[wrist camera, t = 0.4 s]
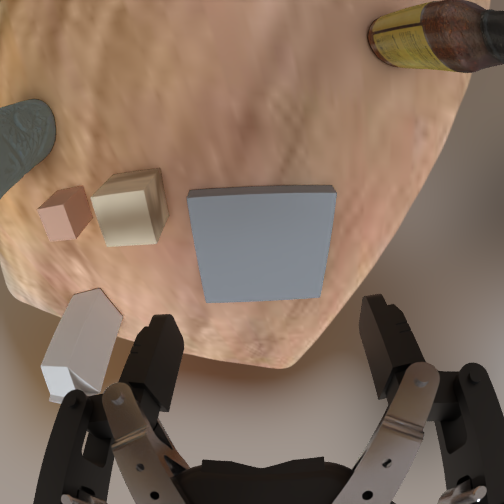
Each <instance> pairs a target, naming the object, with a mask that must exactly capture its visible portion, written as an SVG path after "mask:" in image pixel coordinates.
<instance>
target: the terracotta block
mask: <svg viewBox="0 0 504 504" xmlns="http://www.w3.org/2000/svg"><path fill="white" fill-rule="evenodd" d="M37 211H38V214H39V216H40V219H41V221H42V224H43V226H44V229H45V231H46V233H47V236H48V238H49V240H50V241H60V240H71V239H77V237H78V236H79V235H80V233H81V232H82V231H83V229H84V228H85V227H86V225H87V224H88V223H89V222H90V220H91V219H92V218H93V216H92V213H91V210H90V207H89V204H88V200H87V197H86V194H85V190H84V187H83V186H78V187H73V188H68V189H63V190H58V191H56V192H55V193H54V194H53V195H52V196H51V197H50V198H49V199H47V200H46V201H45V202H44V203H43V204H42V205H41V206H40V207H39V208H38V209H37Z"/></svg>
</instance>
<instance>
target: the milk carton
mask: <svg viewBox="0 0 504 504" xmlns="http://www.w3.org/2000/svg"><path fill="white" fill-rule="evenodd" d="M122 319H123V316H122V315H121V314H120V313H119V311H118V310H117V309H116V308H115V307H114V305H113V304H112V303H111V302H110V301H109V299H108V298H107V297H106V296H105V294H104V293H103V292H102V290H101V289H95V290H91V291H87V292H83V293H79V294H75V295H73V296H72V298H71V300H70V302H69V304H68V306H67V308H66V310H65V312H64V314H63V316H62V318H61V320H60V323H59V325H58V327H57V329H56V331H55V333H54V336H53V338H52V340H51V343H50V345H49V347H48V350H47V352H46V354H45V357H44V359H43V362H42V364H41V369H42V372H43V375H44V377H45V380H46V383H47V386H48V389H49V391H50V394H51V395H50V399H49V401H51V402H56V403H62V401H63V398H64V397H65V395H66V394H67V393H68V392H70V391H72V390H75V389H78V390H81V391H83V392H84V393H85V394H86V395H87V396H92V395H95V394H98V393H100V392H101V388H102V384H103V380H104V376H105V373H106V369H107V366H108V363H109V359H110V356H111V353H112V349H113V346H114V343H115V340H116V337H117V333H118V330H119V327H120V324H121V322H122Z"/></svg>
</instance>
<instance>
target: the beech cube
mask: <svg viewBox="0 0 504 504" xmlns="http://www.w3.org/2000/svg"><path fill="white" fill-rule="evenodd" d="M90 198H91V201H92V204H93V207H94V211H95V214H96V217H97V220H98V223H99V226H100V229H101V232H102V234H103V237H104V240H105V243H106V245H107V247H113V246H129V245H147V244H157V242H158V240H159V237H160V235H161V233H162V230H163V228H164V225H165V223H166V221H167V218H168V216H169V213H168V208H167V203H166V197H165V192H164V187H163V181H162V176H161V170H160V168H156V169H148V170H140V171H133V172H127V173H120V174H114V175H112V176H111V177H110V178H109V179H108V180H107V181H106V182H105V183H104V184H103V185H102V186H101V187H100V188H99V189H98V190H97V191H96V192H95V193H94V194H93V195H92V196H91V197H90Z"/></svg>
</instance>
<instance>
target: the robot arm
mask: <svg viewBox="0 0 504 504" xmlns="http://www.w3.org/2000/svg"><path fill="white" fill-rule="evenodd" d="M359 331H360V336H361V339H362V343H363V346H364V349H365V353H366V356H367V359H368V363H369V366H370V370H371V373H372V377H373V380H374V384H375V388H376V392H377V396H378V399H379V400H380V399H384V398H387V401H388V407H387V409H386V411H385V413H384V415H383V417H382V419H381V421H380V423H379V425H378V426H377V428H376V430H375V432H374V434H373V435H372V437H371V439H370V441H369V443H368V444H367V446H366V447H365V449H364V450H363V452H362V454H361V455H360V457H359V458H358V460H357V462H356V463H355V465H354V466H353V468H352V469H350V468H348V467H345V466H343V465H340V464H337V463H331V462H324V457H317V458H309V459H300V460H292V461H288V462H285V463H281V464H278V465H274V466H270V467H266V468H256V467H252V466H247V465H243V464H239V463H235V462H232V461H215V460H202V465H200V466H196V467H192V468H190V467H189V465H188V464H187V463H186V461H185V460H184V459H183V458H182V457H181V456H180V454H179V453H178V452H177V450H176V449H175V447H174V445H173V443H172V442H171V440H170V438H169V436H168V434H167V433H166V431H165V429H164V427H163V425H162V423H161V421H160V420H159V418H158V415H159V411H162V412H169V409H170V404H171V400H172V396H173V391H174V387H175V383H176V379H177V375H178V371H179V367H180V363H181V359H182V355H183V351H184V340H183V337H182V335H181V333H180V331H179V329H178V326H177V324H176V322H175V320H174V318H173V316H172V315H171V314H162V315H154V316H153V317H152V319H151V322H150V324H149V327H144V328H143V329H142V330H141V331H140V333H139V334H138V335H137V337H136V339H135V342H134V346H133V347H132V349H131V353H130V354H129V356H128V359H127V361H126V364H125V366H124V369H123V372H122V374H121V377H120V379H119V382H118V383H114V384H112V385H110V386H109V387H108V388H107V389H106V390H105V391H104V393H103V394H99V395H92V396H87V395H86V394H85V393H84V392H83V391H81V390H78V389H75V390H72V391H70V392H68V393H67V394H66V395H65V397H64V398H63V401H62V403H61V406H60V409H59V412H58V414H57V417H56V420H55V423H54V426H53V429H52V432H51V435H50V438H49V442H48V445H47V448H46V452H45V455H44V459H43V463H42V466H41V471H40V475H39V479H38V484H37V488H36V493H35V498H34V503H33V504H107V502H106V501H107V495H108V489H109V483H110V477H111V471H112V465H113V461H114V457H115V459H116V462H117V464H118V467H119V469H120V472H121V474H122V476H123V478H124V481H125V483H126V485H127V487H128V489H129V491H130V493H131V495H132V497H133V499H134V501H135V503H136V504H395V503H394V502H393V501H392V499H393V498H394V496H395V494H396V492H397V491H398V489H399V487H400V486H401V484H402V482H403V480H404V478H405V476H406V474H407V473H408V471H409V469H410V467H411V465H412V463H413V460H414V458H415V456H416V454H417V452H418V450H419V447H420V445H421V443H422V440H423V437H424V432H423V428H424V426H425V423H426V421H434V422H435V426H436V430H437V435H438V440H439V444H440V450H441V455H442V461H443V466H444V473H445V480H446V488H447V491H445V492H444V493H443V494H442V496H441V497H440V498H439V500H438V503H437V504H504V416H503V413H502V411H501V407H500V404H499V402H498V399H497V396H496V393H495V391H494V388H493V385H492V383H491V381H490V378H489V376H488V373H487V371H486V370H485V368H484V367H483V366H481V365H480V364H477V363H468V364H466V365H464V366H463V367H462V369H461V370H460V372H443V371H438V370H437V369H436V368H435V367H434V366H433V365H431V364H429V363H427V362H426V361H425V359H424V357H423V355H422V353H421V351H420V348H419V346H418V344H417V342H416V339H415V337H414V335H413V333H412V331H411V329H410V327H409V324H408V323H407V320H406V318H405V316H404V314H403V312H402V311H401V310H400V309H399V308H398V307H396V306H395V305H394V304H391V305H387V304H386V302H385V300H384V298H383V296H382V294H375V295H370V296H364V297H363V299H362V306H361V313H360V320H359ZM86 431H88V432H89V434H88V437H87V441H86V445H85V449H84V453H83V455H82V446H83V442H84V438H85V435H86Z"/></svg>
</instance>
